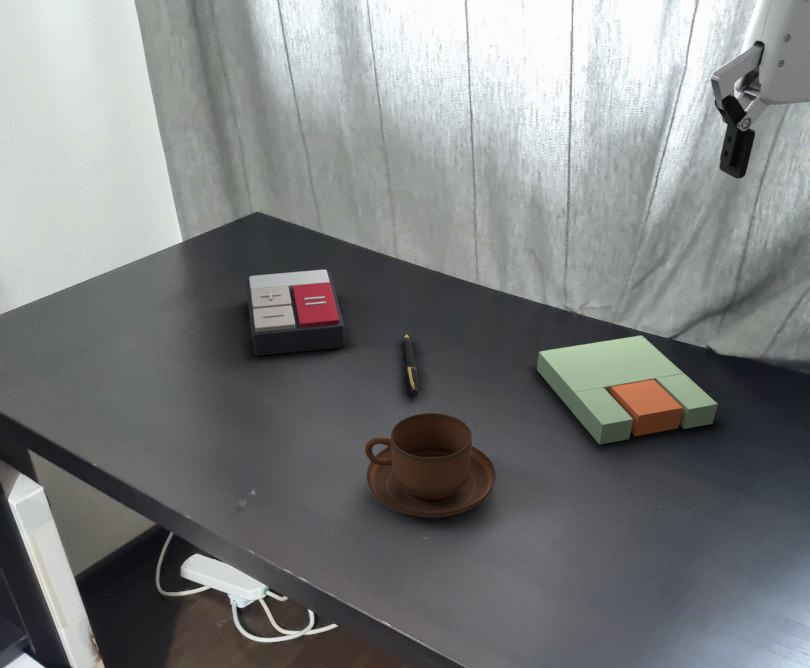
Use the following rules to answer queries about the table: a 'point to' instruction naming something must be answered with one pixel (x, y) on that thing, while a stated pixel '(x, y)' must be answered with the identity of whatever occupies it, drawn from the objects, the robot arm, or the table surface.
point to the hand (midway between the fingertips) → (777, 168)
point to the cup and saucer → (429, 467)
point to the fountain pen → (411, 366)
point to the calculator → (294, 312)
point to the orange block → (648, 407)
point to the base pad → (612, 366)
